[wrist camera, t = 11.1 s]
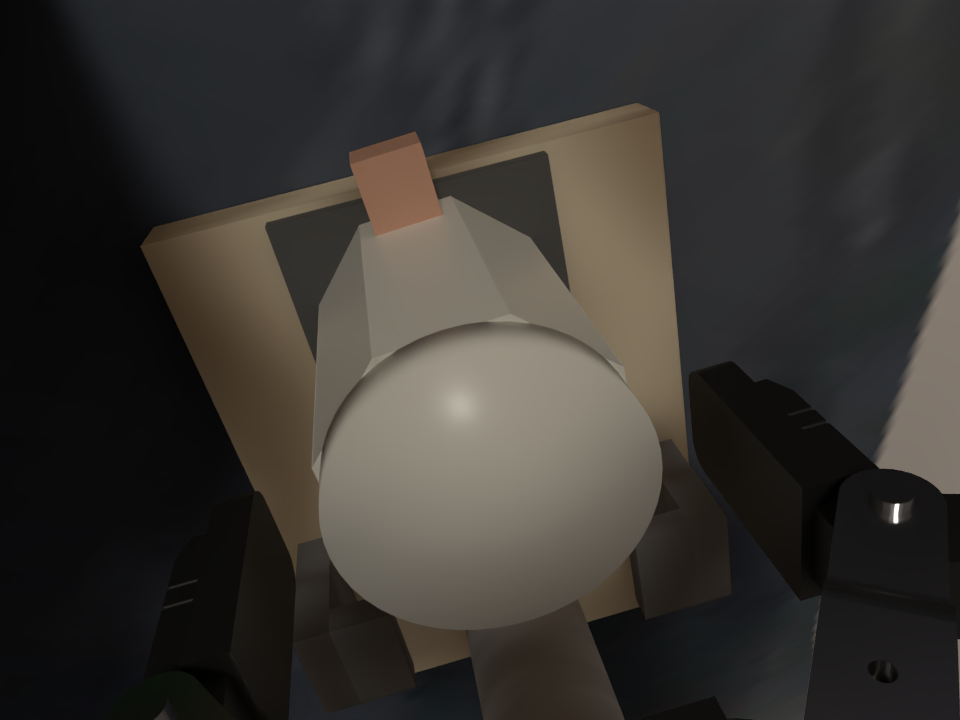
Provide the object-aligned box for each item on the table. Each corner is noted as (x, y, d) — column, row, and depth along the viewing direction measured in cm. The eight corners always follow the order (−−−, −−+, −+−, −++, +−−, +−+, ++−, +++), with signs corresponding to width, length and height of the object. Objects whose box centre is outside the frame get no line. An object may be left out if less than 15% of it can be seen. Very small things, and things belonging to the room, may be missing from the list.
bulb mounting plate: (348, 657, 27) (354, 981, 19) (153, 227, 19) (-2, 448, 10) (682, 559, 28) (840, 828, 19) (636, 102, 20) (880, 210, 11)
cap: (262, 180, 17) (211, 327, 10) (501, 104, 17) (616, 198, 10) (387, 474, 21) (412, 719, 14) (576, 413, 22) (691, 625, 15)
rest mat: (346, 439, 21) (346, 447, 21) (266, 222, 18) (264, 227, 17) (581, 374, 21) (584, 381, 21) (544, 150, 18) (548, 154, 18)
